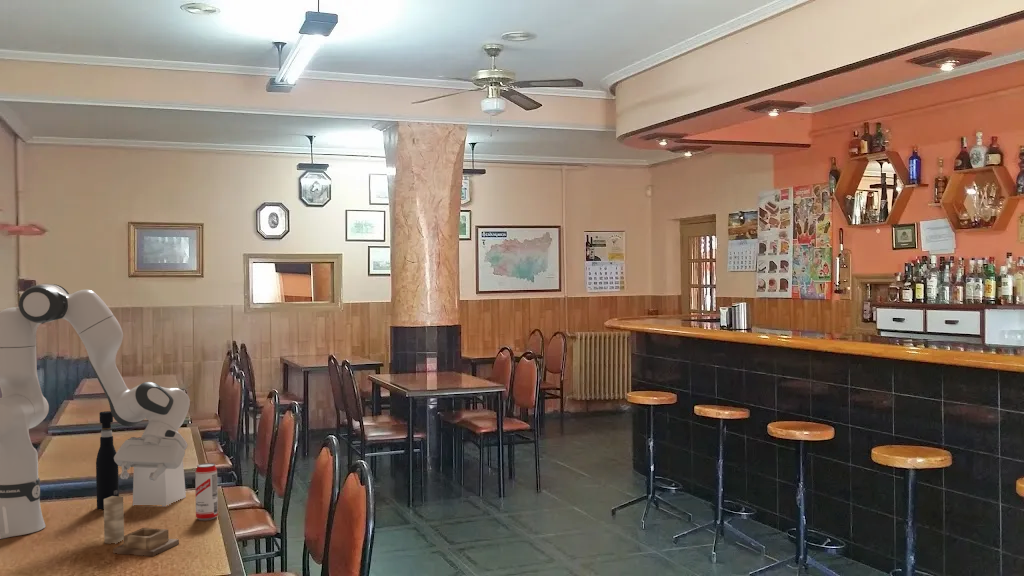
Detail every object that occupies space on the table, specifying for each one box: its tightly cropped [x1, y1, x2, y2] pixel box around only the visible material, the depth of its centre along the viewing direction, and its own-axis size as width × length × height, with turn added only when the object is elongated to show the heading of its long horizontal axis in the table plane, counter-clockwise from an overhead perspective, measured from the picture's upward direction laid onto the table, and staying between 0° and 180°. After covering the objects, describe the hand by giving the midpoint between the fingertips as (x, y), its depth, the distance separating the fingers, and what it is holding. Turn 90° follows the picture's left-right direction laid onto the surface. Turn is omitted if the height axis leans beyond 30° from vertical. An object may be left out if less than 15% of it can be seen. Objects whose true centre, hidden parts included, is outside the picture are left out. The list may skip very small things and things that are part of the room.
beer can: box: [194, 462, 219, 521], centre depth 271 cm, size 6×6×16 cm
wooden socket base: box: [112, 527, 180, 557], centre depth 241 cm, size 12×11×4 cm
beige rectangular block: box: [103, 495, 125, 545], centre depth 248 cm, size 4×4×12 cm
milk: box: [132, 459, 187, 507], centre depth 292 cm, size 12×12×26 cm
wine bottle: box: [95, 410, 120, 510], centre depth 285 cm, size 6×6×30 cm
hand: (137, 478), depth 258 cm, fingers open, 8 cm apart
